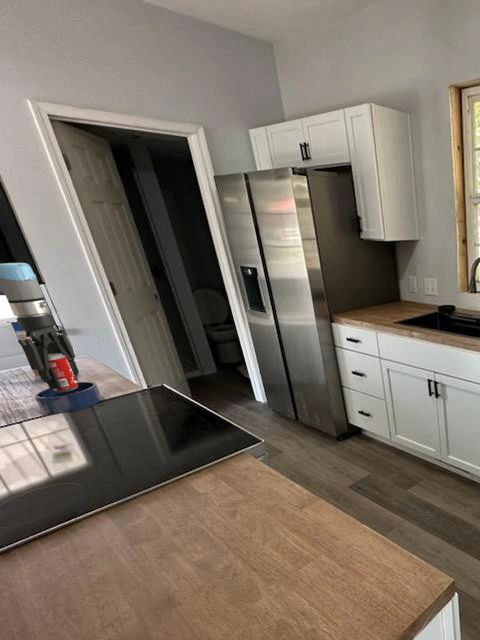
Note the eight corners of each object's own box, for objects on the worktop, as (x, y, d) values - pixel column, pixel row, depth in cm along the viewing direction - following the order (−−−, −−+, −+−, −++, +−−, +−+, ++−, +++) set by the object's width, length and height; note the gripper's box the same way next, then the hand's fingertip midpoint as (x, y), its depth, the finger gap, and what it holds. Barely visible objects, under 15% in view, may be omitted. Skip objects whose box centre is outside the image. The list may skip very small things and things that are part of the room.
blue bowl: (28, 415, 130) (20, 399, 128) (67, 397, 144) (60, 383, 142) (79, 412, 132) (72, 396, 130) (112, 394, 146) (107, 380, 144)
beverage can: (59, 388, 137) (43, 354, 133) (82, 385, 140) (67, 351, 135) (50, 394, 132) (34, 358, 128) (74, 390, 135) (59, 355, 130)
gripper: (18, 321, 119) (52, 394, 127) (72, 308, 136) (99, 374, 145) (-12, 322, 118) (24, 396, 126) (46, 309, 135) (75, 375, 144)
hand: (64, 384), depth 135 cm, fingers closed on beverage can, 6 cm apart
